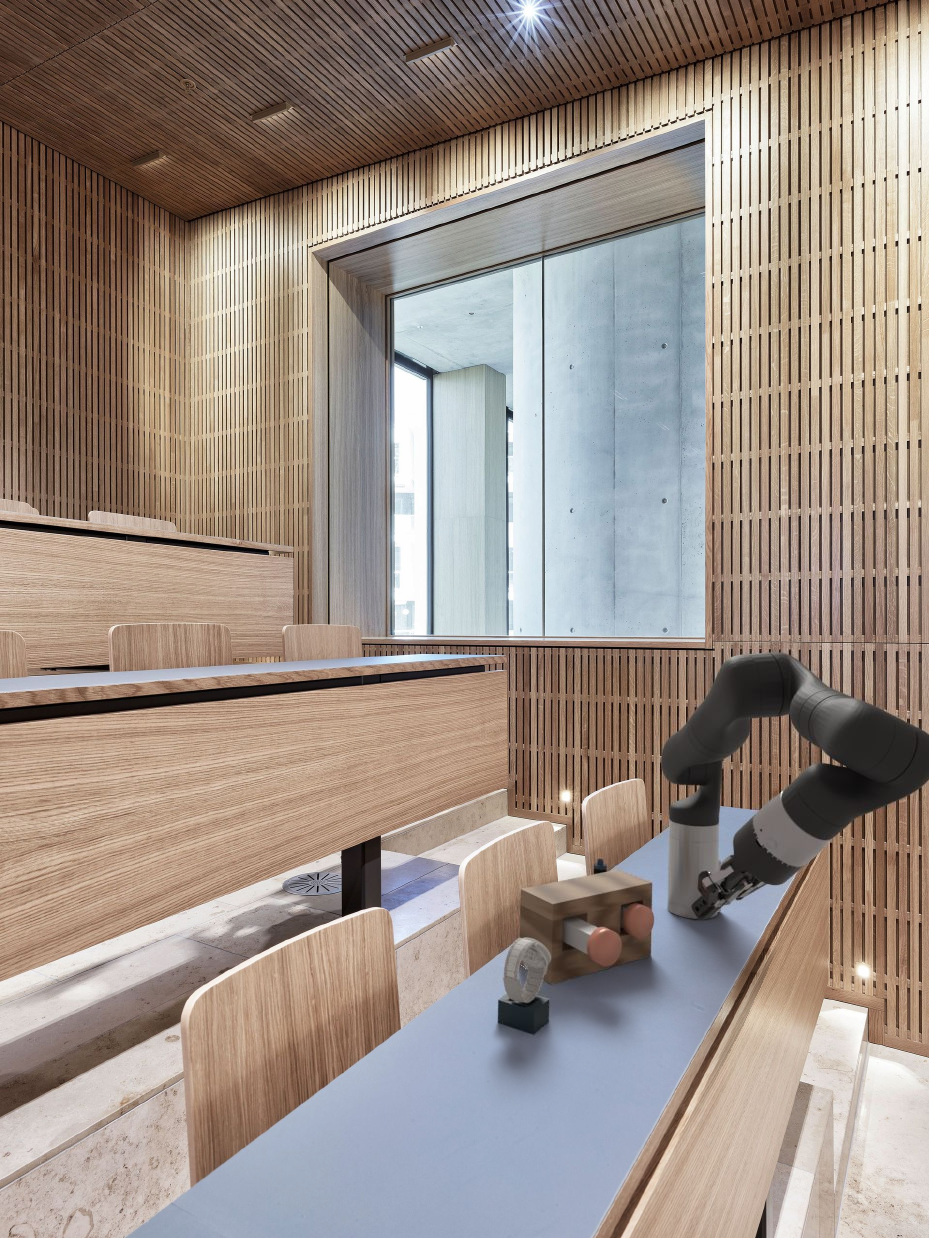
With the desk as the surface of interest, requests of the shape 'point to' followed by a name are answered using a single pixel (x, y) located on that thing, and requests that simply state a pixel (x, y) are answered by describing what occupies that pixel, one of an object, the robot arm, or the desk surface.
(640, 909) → the knob
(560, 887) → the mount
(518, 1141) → the desk surface
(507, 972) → the watch
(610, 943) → the knob
